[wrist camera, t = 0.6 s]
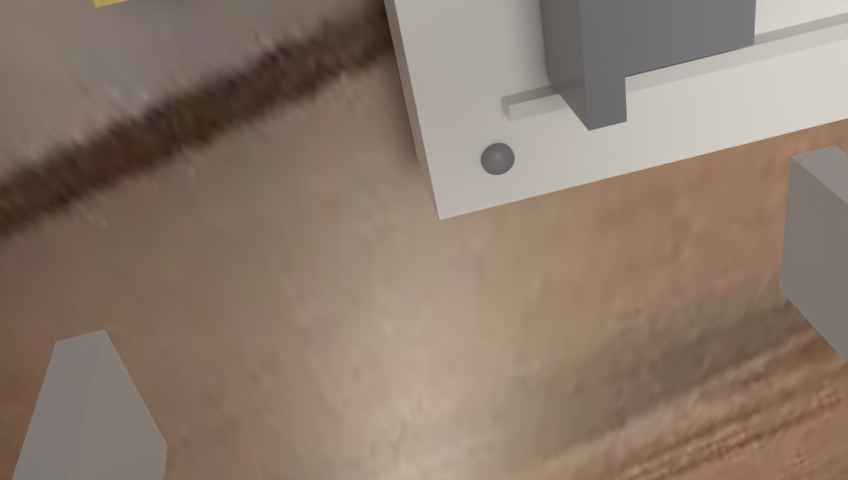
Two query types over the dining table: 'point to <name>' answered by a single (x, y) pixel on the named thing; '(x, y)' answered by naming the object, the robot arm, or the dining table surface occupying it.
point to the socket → (560, 127)
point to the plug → (106, 2)
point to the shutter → (632, 45)
